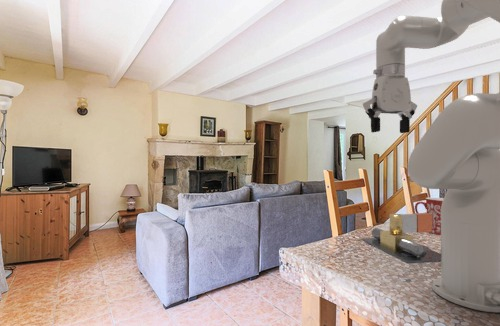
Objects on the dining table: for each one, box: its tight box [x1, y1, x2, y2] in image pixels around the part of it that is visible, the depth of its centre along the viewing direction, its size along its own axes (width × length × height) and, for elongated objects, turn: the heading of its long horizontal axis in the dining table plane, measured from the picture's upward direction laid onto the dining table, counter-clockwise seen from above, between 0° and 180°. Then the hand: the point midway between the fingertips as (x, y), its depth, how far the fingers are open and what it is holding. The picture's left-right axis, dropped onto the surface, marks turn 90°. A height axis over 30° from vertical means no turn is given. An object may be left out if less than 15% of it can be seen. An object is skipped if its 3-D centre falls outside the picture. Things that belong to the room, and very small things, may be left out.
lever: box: [389, 212, 432, 234], centre depth 84 cm, size 14×4×6 cm, turn 99°
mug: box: [414, 197, 444, 236], centre depth 105 cm, size 13×9×14 cm
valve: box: [361, 227, 441, 264], centre depth 84 cm, size 22×14×5 cm, turn 9°
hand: (390, 132), depth 77 cm, fingers open, 9 cm apart
